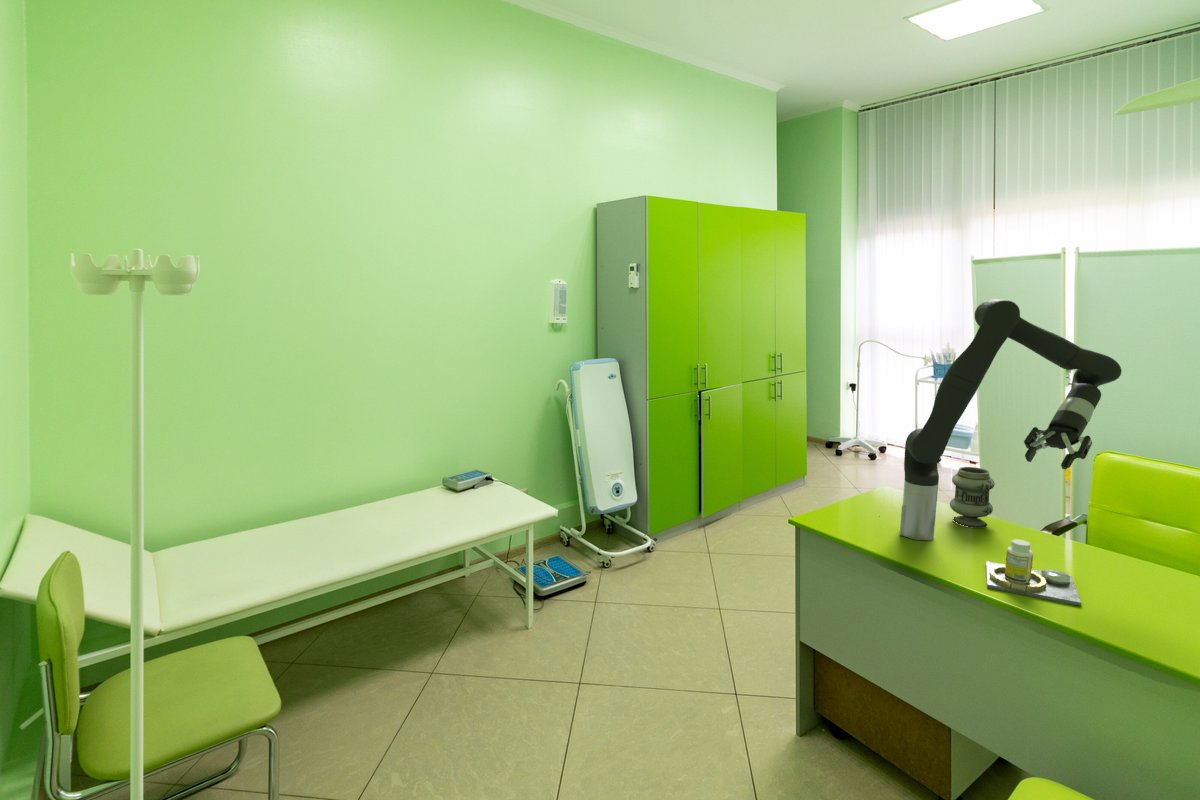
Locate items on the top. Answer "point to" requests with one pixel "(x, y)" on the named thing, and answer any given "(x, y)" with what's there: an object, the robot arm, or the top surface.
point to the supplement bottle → (1019, 562)
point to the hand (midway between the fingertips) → (1045, 463)
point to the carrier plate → (1035, 584)
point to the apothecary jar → (972, 496)
